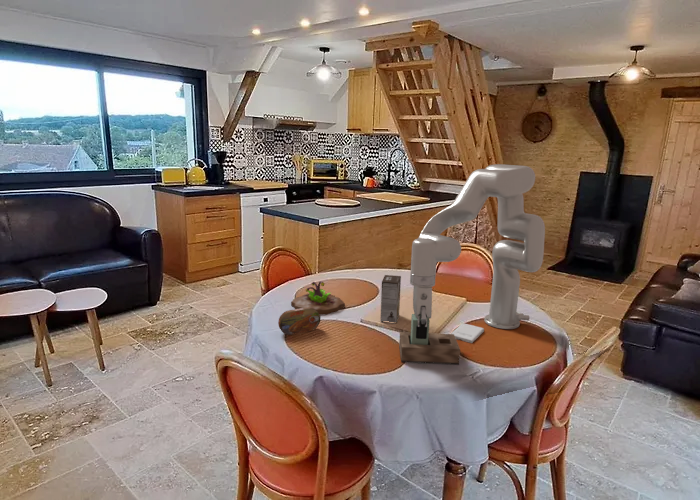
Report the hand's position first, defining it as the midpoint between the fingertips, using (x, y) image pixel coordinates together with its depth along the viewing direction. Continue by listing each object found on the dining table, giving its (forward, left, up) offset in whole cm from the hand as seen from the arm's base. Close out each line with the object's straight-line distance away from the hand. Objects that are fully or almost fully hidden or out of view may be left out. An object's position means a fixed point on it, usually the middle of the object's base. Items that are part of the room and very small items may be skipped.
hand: (419, 331), depth 138 cm
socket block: (-3, 0, -8) cm, 8 cm away
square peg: (0, 0, -7) cm, 7 cm away
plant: (+37, -40, -8) cm, 55 cm away
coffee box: (+8, -29, -8) cm, 31 cm away
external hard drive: (-19, -17, -8) cm, 27 cm away
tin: (+40, -14, -8) cm, 43 cm away
